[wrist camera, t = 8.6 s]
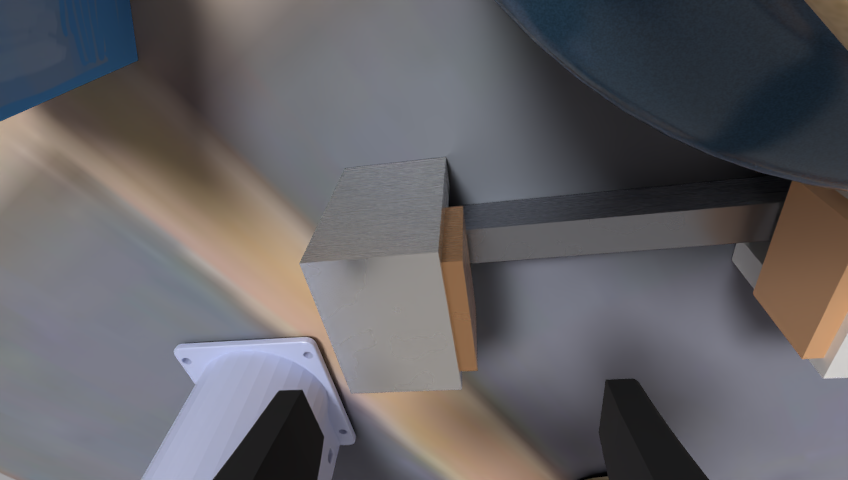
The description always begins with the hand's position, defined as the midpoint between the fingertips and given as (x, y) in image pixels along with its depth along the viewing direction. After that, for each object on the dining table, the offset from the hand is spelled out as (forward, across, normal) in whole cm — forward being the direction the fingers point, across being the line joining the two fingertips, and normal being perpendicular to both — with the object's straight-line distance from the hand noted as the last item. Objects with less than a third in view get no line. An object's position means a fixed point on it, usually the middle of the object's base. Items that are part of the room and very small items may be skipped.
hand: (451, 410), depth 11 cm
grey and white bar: (+9, -6, 0) cm, 11 cm away
